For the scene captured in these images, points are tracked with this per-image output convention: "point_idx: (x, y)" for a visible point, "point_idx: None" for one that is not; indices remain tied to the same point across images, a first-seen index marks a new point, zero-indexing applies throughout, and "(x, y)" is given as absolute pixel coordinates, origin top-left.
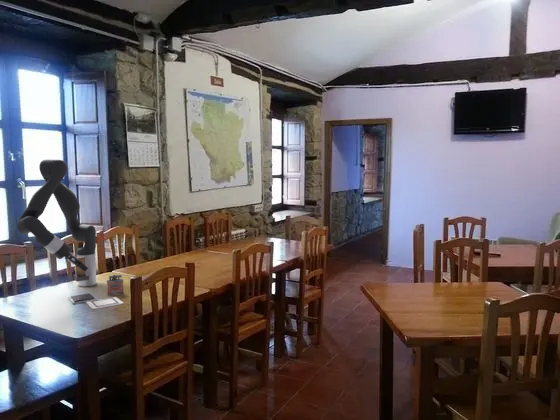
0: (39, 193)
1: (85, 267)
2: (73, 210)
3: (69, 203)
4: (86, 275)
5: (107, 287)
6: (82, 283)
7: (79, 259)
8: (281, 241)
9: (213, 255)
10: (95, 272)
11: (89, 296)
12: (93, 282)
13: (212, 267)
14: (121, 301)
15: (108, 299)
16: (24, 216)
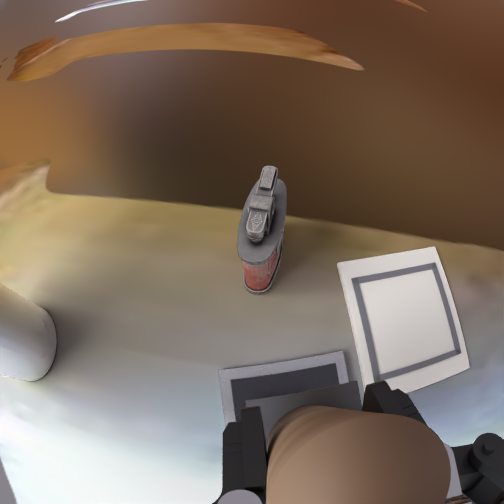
0: None
1: (411, 405)
2: None
3: None
4: (335, 400)
5: (259, 277)
6: (38, 369)
7: (433, 498)
8: (81, 10)
9: (57, 51)
10: (9, 289)
11: (304, 387)
12: (46, 319)
13: (136, 38)
14: (418, 250)
15: (371, 298)
16: None
